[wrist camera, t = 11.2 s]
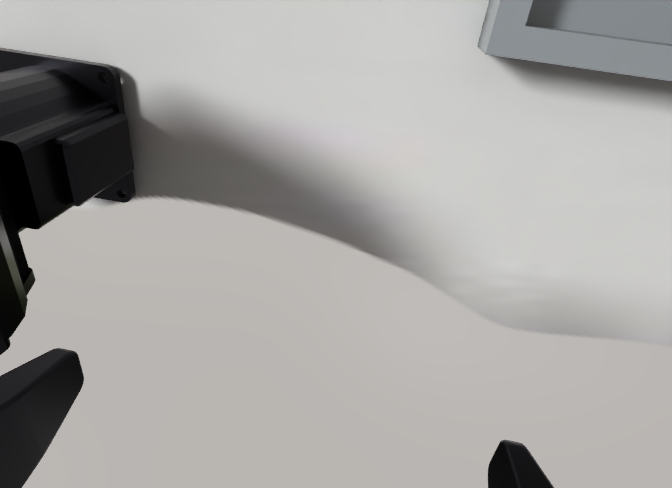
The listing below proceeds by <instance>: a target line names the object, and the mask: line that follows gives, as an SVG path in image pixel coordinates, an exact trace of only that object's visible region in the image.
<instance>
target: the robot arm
mask: <svg viewBox="0 0 672 488" xmlns="http://www.w3.org/2000/svg"><path fill="white" fill-rule="evenodd" d="M104 73H106V74H107V75H108V77H109V82H107V81H106V80H105V78H104ZM133 168H134V166H133V159H132V151H131V143H130V136H129V128H128V121H127V119H126V117H125V112H124V105H123V98H122V90H121V83H120V77H119V74H118V72H117V71H116V69H115V68H113V67H112V66H110V65H107V64H101V63H95V62H88V61H82V60H75V59H69V58H63V57H56V56H50V55H43V54H37V53H30V52H24V51H18V50H11V49H5V48H0V355H1V354H2V353H3V352H5V351H6V350H7V349H8V348H9V346H10V340H9V337H11V336H12V334H13V333H14V331H15V330H16V328H17V327H18V326H19V324H20V322H21V321H22V320H23V318H24V317H25V313H26V306H27V294H28V292H29V291H30V289H31V287H32V286H33V284H34V282H35V277H34V274H33V270H32V269H31V268H29V267H28V264H27V261H26V258H25V254H24V251H23V247H22V244H21V241H20V238H19V234H18V233H19V232H20V231H22V230H23V229H25V228H31V229H39V228H41V227H42V226H44V225H45V224H47V223H48V222H50V221H51V220H53V219H54V218H56V217H58V216H59V215H61V214H62V213H64V212H65V211H67V210H68V209H70V208H71V207H73V206H81V205H82V204H84V203H85V202H87V201H88V200H90V199H91V198H93V197H95V198H101V199H106V200H112V201H118V202H128V201H130V200H131V199H132V198H133V197H134V196H135V187H134V179H133V172H132V170H133ZM121 189H123V190H124V191H125V192H126V194H124V193H123V192H122V191H121ZM83 381H84V377H83V373H82V368H81V365H80V361H79V357H78V354H77V353H76V352H74V351H71V350H66V349H61V348H60V349H59V348H57V349H53V350H51V351H49V352H47V353H45V354H43V355H41V356H39V357H37V358H35V359H33V360H31V361H29V362H27V363H25V364H23V365H21V366H19V367H17V368H15V369H13V370H11V371H9V372H8V373H5V374H3V375H1V376H0V488H22V486H23V485H24V484H25V482H26V481H27V479H28V477H29V476H30V475H31V473H32V472H33V470H34V469H35V468H36V466H37V465H38V463H39V462H40V460H41V458H42V457H43V455H44V454H45V452H46V450H47V449H48V447H49V445H50V444H51V442H52V440H53V438H54V436H55V435H56V433H57V431H58V429H59V428H60V426H61V424H62V422H63V420H64V419H65V417H66V415H67V413H68V411H69V410H70V408H71V406H72V404H73V402H74V400H75V399H76V397H77V395H78V394H79V392H80V390H81V388H82V385H83ZM488 488H554V487H553V486H552V484H551V483H550V481H549V480H548V478H547V477H546V475H545V474H544V472H543V471H542V470H541V468H540V467H539V465H538V464H537V462H536V461H535V459H534V458H533V456H532V455H531V453H530V452H529V451H528V449H527V448H526V447H525V446H524V445H523V444H521V443H518V442H513V441H509V440H503V441H501V442H500V443H499V445H498V447H497V450H496V451H495V453H494V455H493V457H492V459H491V461H490V464H489V468H488Z"/></svg>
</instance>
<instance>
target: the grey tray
mask: <svg viewBox="0 0 672 488" xmlns="http://www.w3.org/2000/svg"><path fill="white" fill-rule="evenodd" d="M478 47H479V48H480V49H481V50H482V51H483V52H484V53H485V54H487V55H494V56H500V57H507V58H514V59H521V60H528V61H535V62H542V63H549V64H556V65H563V66H569V67H576V68H583V69H590V70H597V71H604V72H611V73H618V74H625V75H632V76H638V77H645V78H652V79H659V80H666V81H672V0H489V4H488V8H487V12H486V16H485V19H484V23H483V27H482V31H481V35H480V39H479V42H478Z"/></svg>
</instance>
